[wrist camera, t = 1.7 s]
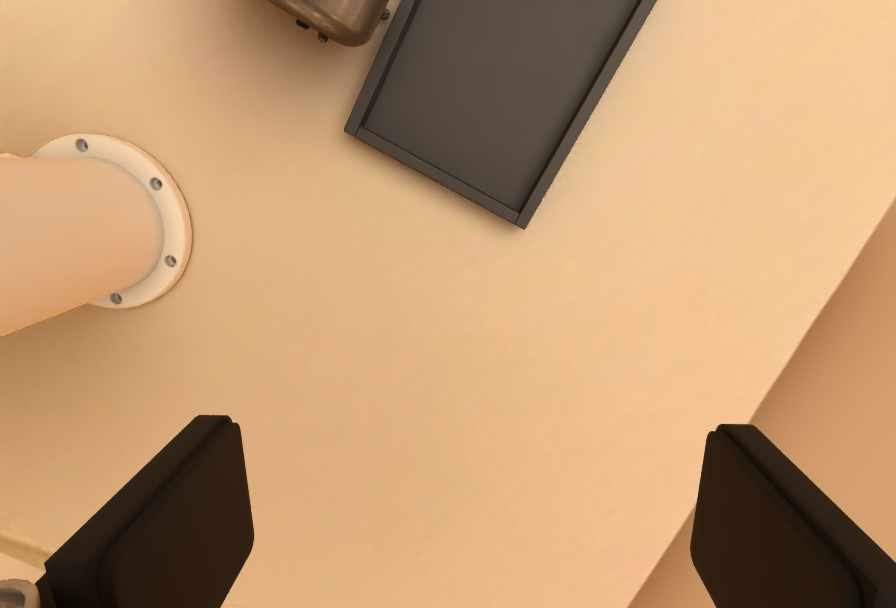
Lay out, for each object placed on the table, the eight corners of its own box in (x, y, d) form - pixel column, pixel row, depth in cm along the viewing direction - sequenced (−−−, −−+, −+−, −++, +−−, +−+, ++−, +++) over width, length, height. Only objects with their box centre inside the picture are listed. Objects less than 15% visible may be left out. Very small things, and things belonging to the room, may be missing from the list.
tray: (350, 132, 36) (342, 130, 34) (473, -144, 31) (472, -163, 29) (522, 225, 37) (524, 230, 35) (666, -26, 32) (678, -37, 30)
